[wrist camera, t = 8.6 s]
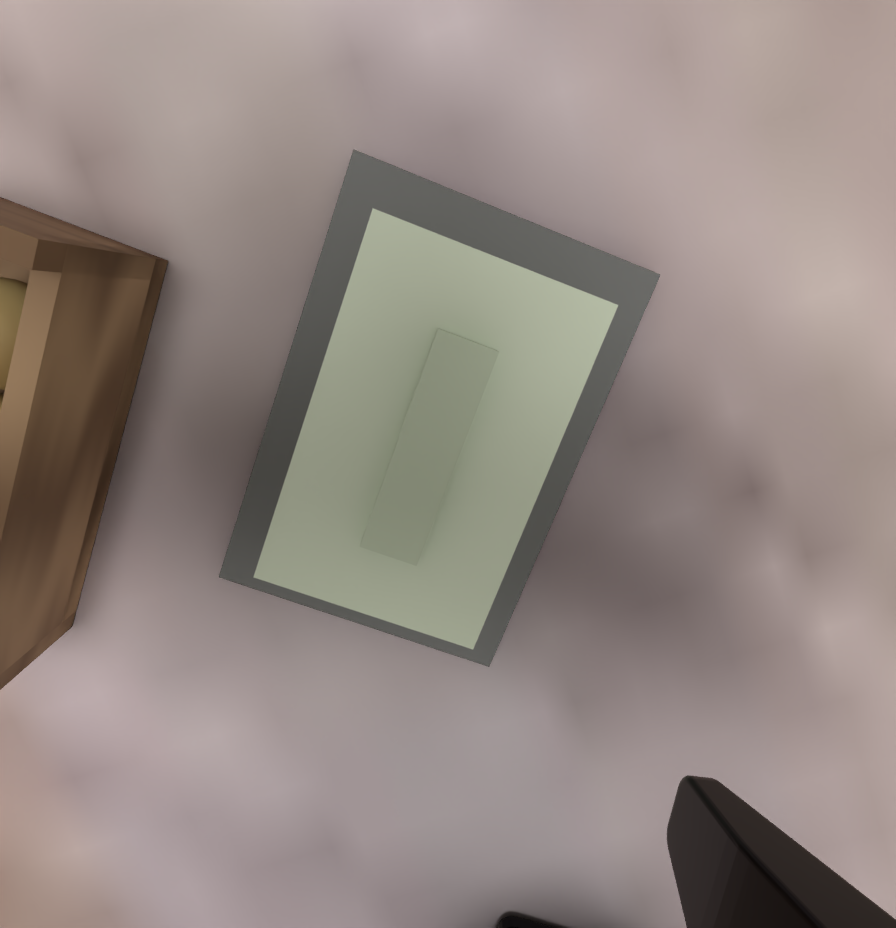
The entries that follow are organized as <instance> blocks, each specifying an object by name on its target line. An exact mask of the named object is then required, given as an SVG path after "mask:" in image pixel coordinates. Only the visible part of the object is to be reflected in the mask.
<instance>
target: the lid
mask: <svg viewBox="0 0 896 928" xmlns="http://www.w3.org/2000/svg"><path fill="white" fill-rule="evenodd" d="M617 307H618V305H617V304H614V303H612V302H609V301H607V300H604V299H602V298H599V297H597V296H594V295H591V294H589V293H586V292H584V291H581V290H579V289H576V288H574V287H571V286H569V285H566V284H564V283H561V282H559V281H556V280H553V279H551V278H548V277H546V276H543V275H541V274H538V273H536V272H533V271H531V270H528V269H526V268H523V267H521V266H518V265H515V264H513V263H510V262H508V261H505V260H503V259H500V258H498V257H495V256H493V255H490V254H488V253H485V252H483V251H480V250H477V249H475V248H472V247H470V246H467V245H465V244H462V243H460V242H457V241H455V240H452V239H450V238H447V237H445V236H442V235H439V234H437V233H434V232H432V231H429V230H427V229H424V228H422V227H419V226H417V225H414V224H412V223H409V222H407V221H404V220H401V219H399V218H396V217H394V216H391V215H389V214H386V213H384V212H381V211H379V210H376V209H374V208H373V209H372V212H371V215H370V218H369V221H368V225H367V228H366V231H365V234H364V237H363V240H362V243H361V246H360V249H359V252H358V255H357V259H356V262H355V265H354V268H353V271H352V274H351V277H350V280H349V283H348V286H347V289H346V293H345V296H344V299H343V302H342V305H341V308H340V311H339V314H338V317H337V320H336V323H335V327H334V330H333V333H332V336H331V339H330V342H329V345H328V348H327V351H326V354H325V357H324V361H323V364H322V367H321V370H320V373H319V376H318V379H317V382H316V385H315V388H314V391H313V395H312V398H311V401H310V404H309V407H308V410H307V413H306V416H305V419H304V422H303V425H302V429H301V432H300V435H299V438H298V441H297V444H296V447H295V450H294V453H293V456H292V459H291V463H290V466H289V469H288V472H287V475H286V478H285V481H284V484H283V487H282V490H281V493H280V496H279V500H278V503H277V506H276V509H275V512H274V515H273V518H272V521H271V524H270V527H269V530H268V534H267V537H266V540H265V543H264V546H263V549H262V552H261V555H260V558H259V561H258V564H257V568H256V571H255V574H254V578H257V579H260V580H263V581H266V582H269V583H272V584H275V585H278V586H281V587H284V588H287V589H290V590H293V591H296V592H300V593H303V594H306V595H309V596H312V597H315V598H318V599H321V600H324V601H327V602H330V603H333V604H336V605H339V606H342V607H345V608H348V609H351V610H354V611H357V612H360V613H363V614H366V615H369V616H373V617H376V618H379V619H382V620H385V621H388V622H391V623H394V624H397V625H400V626H403V627H406V628H409V629H412V630H415V631H418V632H421V633H424V634H427V635H430V636H433V637H436V638H439V639H442V640H445V641H449V642H452V643H455V644H458V645H461V646H464V647H467V648H470V649H474V646H475V644H476V642H477V639H478V637H479V634H480V632H481V630H482V627H483V625H484V623H485V620H486V618H487V616H488V613H489V611H490V608H491V606H492V604H493V601H494V599H495V597H496V594H497V592H498V589H499V587H500V585H501V582H502V580H503V578H504V575H505V573H506V570H507V568H508V566H509V563H510V561H511V559H512V556H513V554H514V551H515V549H516V547H517V544H518V542H519V540H520V537H521V535H522V533H523V530H524V528H525V525H526V523H527V521H528V518H529V516H530V514H531V511H532V509H533V506H534V504H535V502H536V499H537V497H538V495H539V492H540V490H541V487H542V485H543V483H544V480H545V478H546V476H547V473H548V471H549V469H550V466H551V464H552V461H553V459H554V457H555V454H556V452H557V450H558V447H559V445H560V442H561V440H562V438H563V435H564V433H565V431H566V428H567V426H568V423H569V421H570V419H571V416H572V414H573V412H574V409H575V407H576V404H577V402H578V400H579V397H580V395H581V393H582V390H583V388H584V386H585V383H586V381H587V378H588V376H589V374H590V371H591V369H592V367H593V364H594V362H595V359H596V357H597V355H598V352H599V350H600V348H601V345H602V343H603V340H604V338H605V336H606V333H607V331H608V329H609V326H610V324H611V322H612V319H613V317H614V314H615V312H616V310H617Z"/></svg>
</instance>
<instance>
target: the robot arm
mask: <svg viewBox="0 0 896 928" xmlns="http://www.w3.org/2000/svg"><path fill="white" fill-rule="evenodd" d="M667 844H668V850H669V854H670V858H671V862H672V866H673V871H674V875H675V879H676V883H677V888H678V892H679V896H680V900H681V905H682V909H683V913H684V917H685V921H686V926H687V928H896V919H894V918H893V917H892V916H890V915H889V914H888V913H887V912H885V911H884V910H883V909H881V908H880V907H879V906H878V905H876V904H875V903H874V902H872V901H871V900H870V899H869V898H867V897H866V896H865V895H863V894H862V893H861V892H860V891H858V890H857V889H856V888H855V887H853V886H852V885H851V884H849V883H848V882H847V881H846V880H844V879H843V878H842V877H840V876H839V875H838V874H837V873H835V872H834V871H833V870H831V869H830V868H829V867H828V866H826V865H825V864H824V863H823V862H821V861H820V860H819V859H817V858H816V857H815V856H814V855H812V854H811V853H810V852H808V851H807V850H806V849H805V848H803V847H802V846H801V845H799V844H798V843H797V842H796V841H794V840H793V839H792V838H790V837H789V836H788V835H787V834H785V833H784V832H783V831H782V830H780V829H779V828H778V827H776V826H775V825H774V824H773V823H771V822H770V821H769V820H767V819H766V818H765V817H764V816H762V815H761V814H760V813H758V812H757V811H756V810H755V809H753V808H752V807H751V806H750V805H748V804H747V803H746V802H744V801H743V800H742V799H741V798H739V797H738V796H737V795H735V794H734V793H733V792H732V791H730V790H729V789H728V788H726V787H725V786H724V785H723V784H721V783H720V782H719V781H717V780H715V779H712V778H705V777H697V776H686V777H684V778H683V779H682V780H681V781H680V784H679V787H678V790H677V794H676V797H675V801H674V805H673V808H672V812H671V816H670V819H669V823H668V828H667ZM497 928H553V927H550V926H546V925H543V924H539V923H536V922H533V921H529V920H526V919H522V918H519V917H514V916H510V917H506V918H504V919H502V920H501V921H500V923H499V924H498V926H497Z"/></svg>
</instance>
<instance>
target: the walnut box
mask: <svg viewBox="0 0 896 928" xmlns="http://www.w3.org/2000/svg"><path fill="white" fill-rule="evenodd" d="M167 264H168V261H167V260H165V259H162V258H159V257H157V256H154V255H151V254H149V253H146V252H143V251H141V250H138V249H136V248H133V247H130V246H128V245H125V244H122V243H120V242H117V241H114V240H112V239H109V238H107V237H104V236H101V235H99V234H96V233H93V232H91V231H88V230H85V229H83V228H80V227H77V226H75V225H72V224H70V223H67V222H64V221H62V220H59V219H56V218H54V217H51V216H48V215H46V214H43V213H41V212H38V211H35V210H33V209H30V208H27V207H25V206H22V205H19V204H17V203H14V202H11V201H9V200H6V199H4V198H1V197H0V689H2V688H3V687H4V686H5V685H6V684H7V683H8V682H10V681H11V680H12V679H13V678H14V677H15V676H16V675H18V674H19V673H20V672H21V671H22V670H23V669H24V668H26V667H27V666H28V665H29V664H30V663H31V662H32V661H34V660H35V659H36V658H37V657H38V656H39V655H40V654H42V653H43V652H44V651H45V650H46V649H47V648H48V647H50V646H51V645H52V644H53V643H54V642H55V641H56V640H58V639H59V638H60V637H61V636H62V635H63V634H64V633H65V632H67V631H68V630H69V629H70V628H71V627H72V625H73V621H74V617H75V613H76V609H77V606H78V602H79V598H80V594H81V590H82V587H83V583H84V579H85V575H86V571H87V568H88V564H89V560H90V556H91V552H92V549H93V545H94V541H95V537H96V533H97V530H98V526H99V522H100V518H101V514H102V511H103V507H104V503H105V499H106V495H107V492H108V488H109V484H110V480H111V476H112V473H113V469H114V465H115V461H116V457H117V454H118V450H119V446H120V442H121V438H122V435H123V431H124V427H125V423H126V419H127V416H128V412H129V408H130V404H131V400H132V397H133V393H134V389H135V385H136V381H137V378H138V374H139V370H140V366H141V362H142V359H143V355H144V351H145V347H146V343H147V340H148V336H149V332H150V328H151V324H152V321H153V317H154V313H155V309H156V305H157V302H158V298H159V294H160V290H161V286H162V283H163V279H164V275H165V271H166V267H167Z"/></svg>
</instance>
